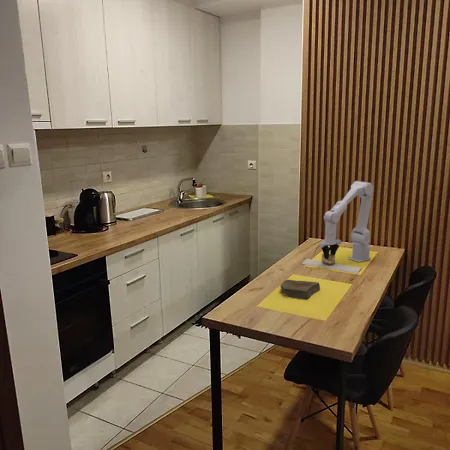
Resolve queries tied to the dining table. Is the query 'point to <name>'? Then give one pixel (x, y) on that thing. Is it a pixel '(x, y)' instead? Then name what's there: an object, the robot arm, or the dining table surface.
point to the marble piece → (299, 288)
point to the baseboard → (332, 266)
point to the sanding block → (328, 261)
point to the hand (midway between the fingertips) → (329, 258)
